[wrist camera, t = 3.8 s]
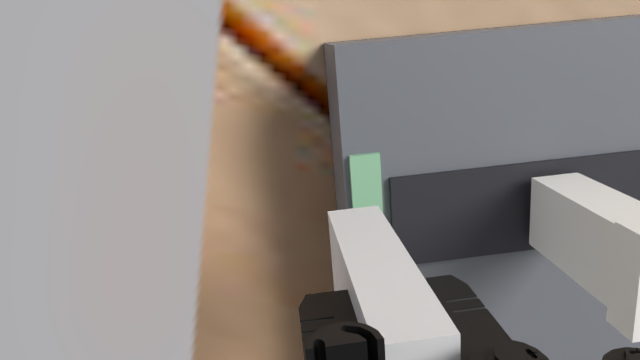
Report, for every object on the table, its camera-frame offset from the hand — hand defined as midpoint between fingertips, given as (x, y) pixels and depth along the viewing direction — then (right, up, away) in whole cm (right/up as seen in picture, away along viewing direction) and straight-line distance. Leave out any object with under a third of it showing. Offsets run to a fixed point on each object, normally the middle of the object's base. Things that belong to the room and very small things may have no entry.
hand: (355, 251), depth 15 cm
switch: (+7, +1, +2) cm, 7 cm away
